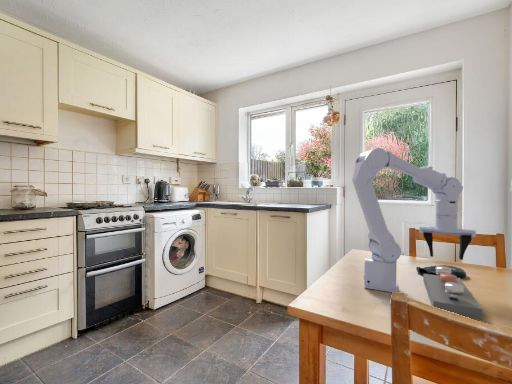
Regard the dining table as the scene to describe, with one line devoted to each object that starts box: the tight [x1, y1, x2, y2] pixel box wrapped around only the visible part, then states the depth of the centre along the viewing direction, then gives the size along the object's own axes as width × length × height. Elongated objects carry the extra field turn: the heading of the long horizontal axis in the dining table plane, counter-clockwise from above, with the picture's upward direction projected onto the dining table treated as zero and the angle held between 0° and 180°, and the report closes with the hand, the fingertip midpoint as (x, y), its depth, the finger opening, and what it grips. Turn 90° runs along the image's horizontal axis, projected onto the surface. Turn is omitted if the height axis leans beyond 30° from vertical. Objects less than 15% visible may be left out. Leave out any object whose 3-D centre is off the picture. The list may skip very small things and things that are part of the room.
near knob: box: [445, 282, 464, 301], centre depth 71 cm, size 4×4×4 cm
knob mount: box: [422, 273, 483, 320], centre depth 78 cm, size 10×24×2 cm, turn 153°
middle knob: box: [440, 273, 457, 284], centre depth 78 cm, size 4×4×4 cm
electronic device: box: [415, 264, 467, 279], centre depth 97 cm, size 9×6×15 cm
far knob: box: [435, 265, 451, 275], centre depth 85 cm, size 4×4×4 cm
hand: (445, 257), depth 85 cm, fingers open, 7 cm apart
